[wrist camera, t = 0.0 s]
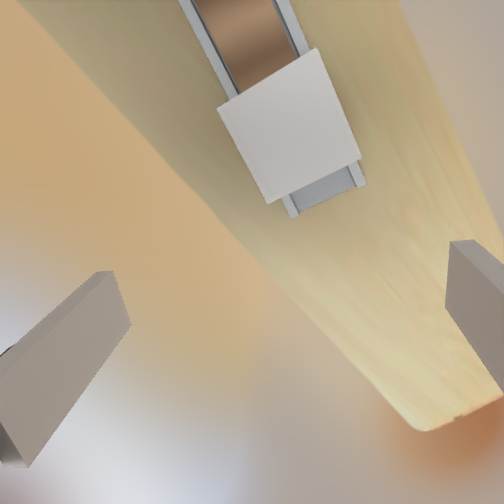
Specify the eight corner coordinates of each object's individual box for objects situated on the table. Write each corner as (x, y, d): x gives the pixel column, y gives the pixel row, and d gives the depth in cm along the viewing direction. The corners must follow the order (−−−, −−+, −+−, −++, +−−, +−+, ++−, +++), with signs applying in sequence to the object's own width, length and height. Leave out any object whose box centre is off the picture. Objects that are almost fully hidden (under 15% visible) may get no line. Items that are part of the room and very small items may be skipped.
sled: (171, -52, 31) (138, -88, 25) (227, -98, 30) (208, -149, 23) (281, 168, 38) (277, 183, 32) (332, 141, 36) (339, 151, 30)
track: (166, -31, 33) (116, -78, 24) (246, -95, 30) (224, -174, 21) (291, 212, 41) (289, 246, 32) (363, 179, 39) (382, 205, 30)
